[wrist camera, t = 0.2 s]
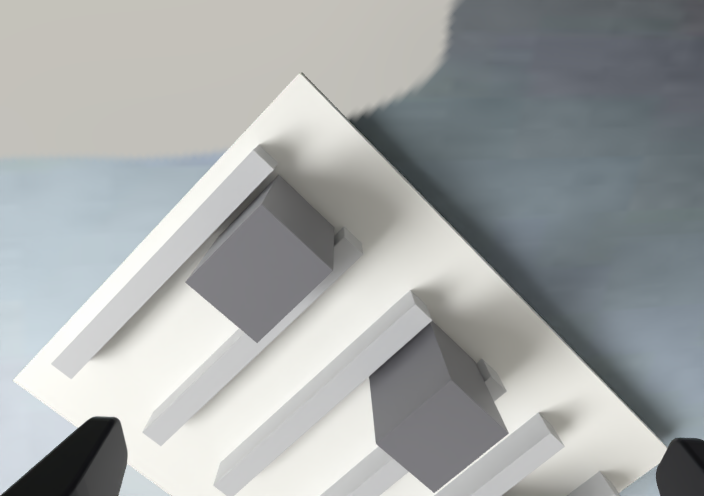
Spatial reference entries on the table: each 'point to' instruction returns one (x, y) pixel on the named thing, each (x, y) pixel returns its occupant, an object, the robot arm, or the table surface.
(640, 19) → the table surface
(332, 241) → the block
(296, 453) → the breaker board
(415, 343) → the block
